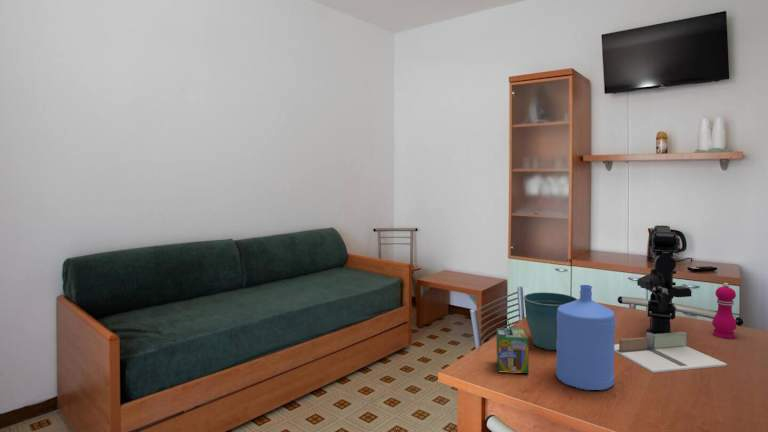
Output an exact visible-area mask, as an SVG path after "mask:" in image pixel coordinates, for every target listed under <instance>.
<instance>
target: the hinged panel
mask: <svg viewBox="0 0 768 432" xmlns="http://www.w3.org/2000/svg"><path fill="white" fill-rule="evenodd" d="M687 335H688V333H687V332H684V331H679V332H677V331H676V332H672V333H662V334H654V333H653V348H663V347H675V346H687V337H688V336H687Z"/></svg>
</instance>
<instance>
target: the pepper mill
mask: <svg viewBox="0 0 768 432" xmlns="http://www.w3.org/2000/svg"><path fill="white" fill-rule="evenodd" d="M715 296H716V298H717V299H716V304H717V306H718V307H717V310H716V313H715V315H714V316H713V318H712V321H711V324H712V326H713V328H714V329H713V333H712V334H713V335H714V337H717V338H720V339H726V340H727V339H729V340H730V339H734V338H735V332H734V331H735V330H736V329H737V327H738V326H737V321H736V319H735V316H734V315H733V310H732V309H733V306H734V305H735V304H734V303H735V302H734V299H735V298H736V296H737V294H736V290H734V289H733V288H732V287H730V285H729V283H728V282H724V283H723V284H722V286H720V287H717V289H716V290H715Z"/></svg>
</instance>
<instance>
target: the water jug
mask: <svg viewBox="0 0 768 432" xmlns="http://www.w3.org/2000/svg"><path fill="white" fill-rule="evenodd" d="M579 287H580V290H579V299H577V300H576V301H573V302H570V303H566V304H563V305H561V306H559V307H558V309H557V341H556V349H557V350H556V367H555V374H556V378H557V379H558V381H560V380H561V381H560V382H561V383H563V384H565V385H567V386H569V385H570V386H569V387H571V386H573V387H572V388H574V387H576V388H575V389H578V388H579V390H582V389H584V390H585V391H590V390H599V391H604V390H605V391H606V390H608V389H609V388H611V387H613V386H614V383H615V375H614V363H615V362H614V361H615V353H616V352H615V347H614V345H615V333H616V331H615V329H616V314H615V312H614V311H613V310H612V309H610V308H608V307H606V306H604V305H602V304H601V303H598V302H596V301H594V300H593V298H592V294H593V292H592V288H593V286H592V285H588V284H580V285H579ZM584 390H583V391H584Z"/></svg>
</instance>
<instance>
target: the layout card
mask: <svg viewBox="0 0 768 432" xmlns="http://www.w3.org/2000/svg"><path fill="white" fill-rule="evenodd" d="M653 334H654V333H651V332H649V331H647V332H646V335H645V336H643V337H641V336H640V337H629V338H619V343H617V344H615V343H614V347H615V353H616V354H618V355H620V356H622V357H624V358H625V359H626V360H629V361H630V362H632V363H635V364H636V365H638V366H639V367H642V368H643V369H646V370H648V371H649V372H651V373H652V374H657V373H666V372H667V373H668V372H677V371H679V372H680V371H689V370H696V369H697V370H699V369H707V368H716V367H717V368H720V367H727V366H728V363H726V362H724V361H722V360H720V359H716V358H715V357H712V356H710V355H708V354H705V353H702V352H700V351H698V350H696V349H694V348H691V347H689V346H687V345H686V346H675V347H663V348H653Z"/></svg>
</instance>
